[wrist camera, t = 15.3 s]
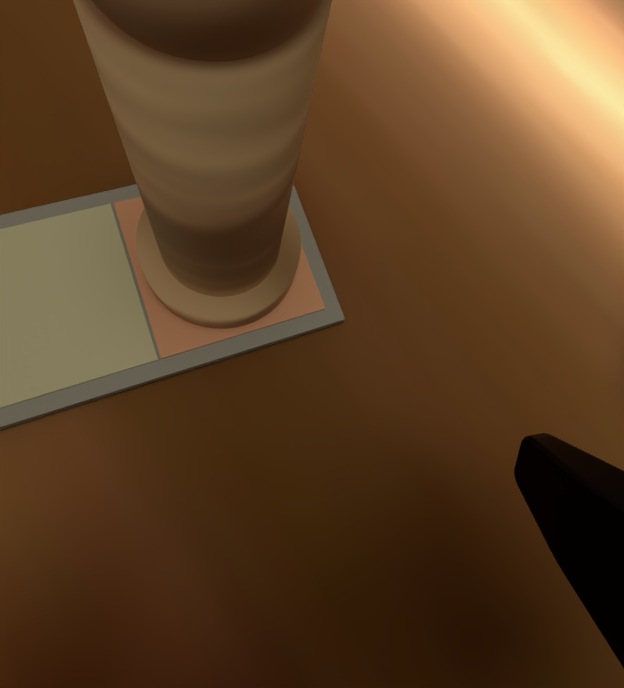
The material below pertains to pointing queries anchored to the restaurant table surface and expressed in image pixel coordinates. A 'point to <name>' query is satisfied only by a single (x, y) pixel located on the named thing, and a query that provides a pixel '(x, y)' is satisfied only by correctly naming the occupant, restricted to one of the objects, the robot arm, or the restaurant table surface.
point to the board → (115, 308)
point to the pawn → (211, 141)
